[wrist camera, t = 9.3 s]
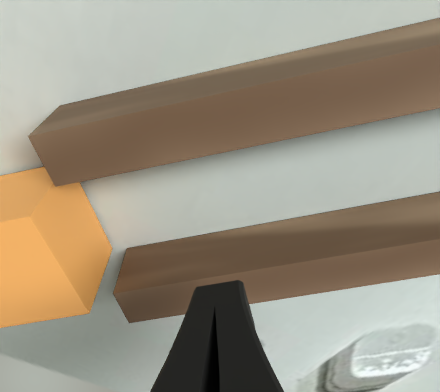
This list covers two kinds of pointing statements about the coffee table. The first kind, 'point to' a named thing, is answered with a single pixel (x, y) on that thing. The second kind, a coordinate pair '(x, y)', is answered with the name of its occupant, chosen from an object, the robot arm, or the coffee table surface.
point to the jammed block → (47, 249)
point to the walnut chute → (252, 136)
